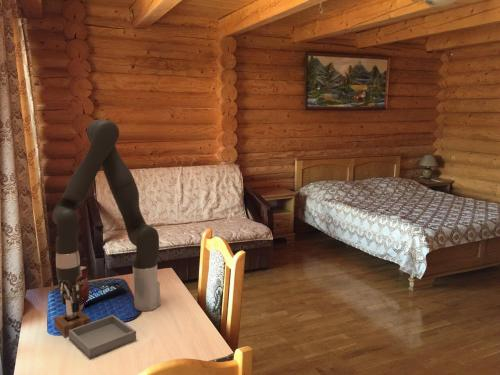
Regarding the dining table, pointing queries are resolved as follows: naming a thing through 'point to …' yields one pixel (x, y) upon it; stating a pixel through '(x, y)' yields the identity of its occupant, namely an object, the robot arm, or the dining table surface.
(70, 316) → the lock pin
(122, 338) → the tray
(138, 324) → the dining table surface
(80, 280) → the supplement box
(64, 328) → the pin holder
